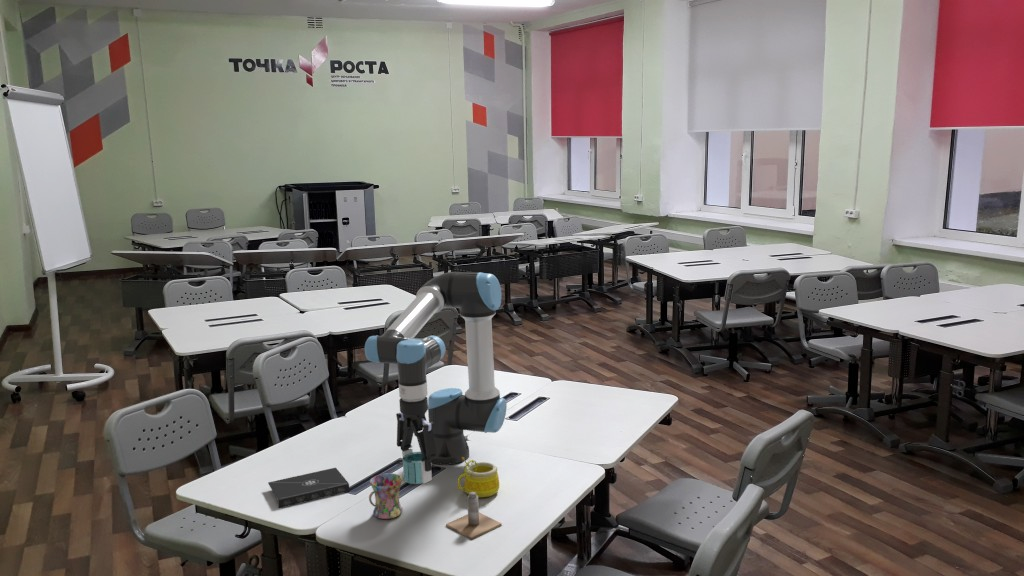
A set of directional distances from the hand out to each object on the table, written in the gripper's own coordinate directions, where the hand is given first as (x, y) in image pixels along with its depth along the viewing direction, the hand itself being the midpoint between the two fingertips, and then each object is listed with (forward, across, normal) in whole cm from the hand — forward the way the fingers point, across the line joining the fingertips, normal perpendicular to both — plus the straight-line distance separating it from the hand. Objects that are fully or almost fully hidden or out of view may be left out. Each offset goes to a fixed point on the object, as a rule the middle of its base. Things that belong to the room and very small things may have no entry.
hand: (417, 476), depth 210 cm
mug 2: (+16, -6, +27) cm, 32 cm away
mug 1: (+16, -14, -2) cm, 21 cm away
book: (+17, -45, -9) cm, 49 cm away
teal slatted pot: (0, 0, 0) cm, 0 cm away
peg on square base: (+16, +9, +12) cm, 22 cm away
